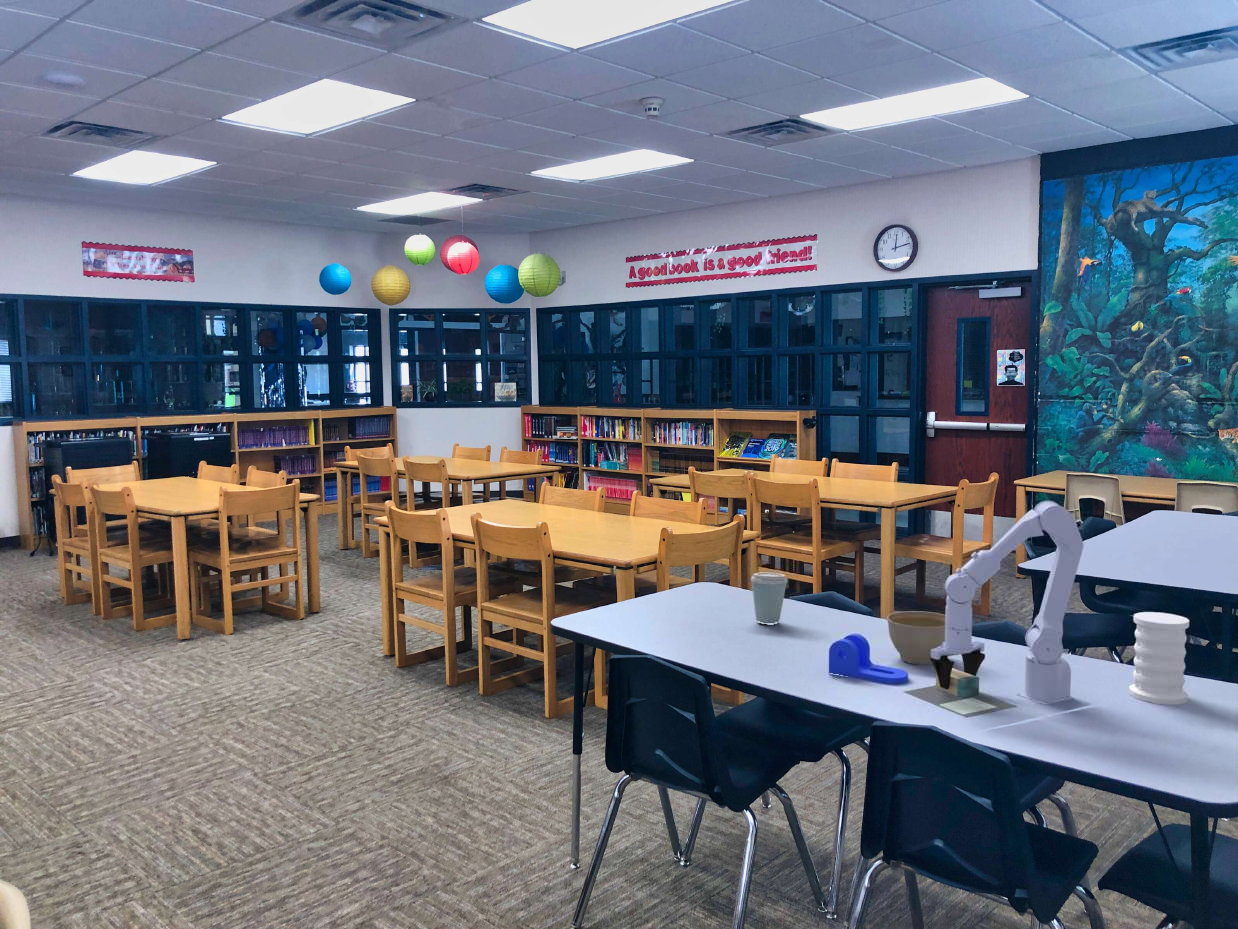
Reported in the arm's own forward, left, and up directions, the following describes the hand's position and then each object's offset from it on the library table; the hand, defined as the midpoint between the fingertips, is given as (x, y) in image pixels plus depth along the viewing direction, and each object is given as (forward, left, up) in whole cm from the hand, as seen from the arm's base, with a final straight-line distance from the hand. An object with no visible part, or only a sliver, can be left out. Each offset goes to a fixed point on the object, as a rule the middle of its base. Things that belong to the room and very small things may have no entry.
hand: (956, 685), depth 220 cm
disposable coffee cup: (+1, -72, -2) cm, 73 cm away
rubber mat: (+3, +4, -2) cm, 6 cm away
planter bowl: (-11, -23, -2) cm, 26 cm away
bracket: (+9, -19, -2) cm, 21 cm away
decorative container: (-38, +23, -2) cm, 44 cm away
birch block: (0, 0, -1) cm, 1 cm away
